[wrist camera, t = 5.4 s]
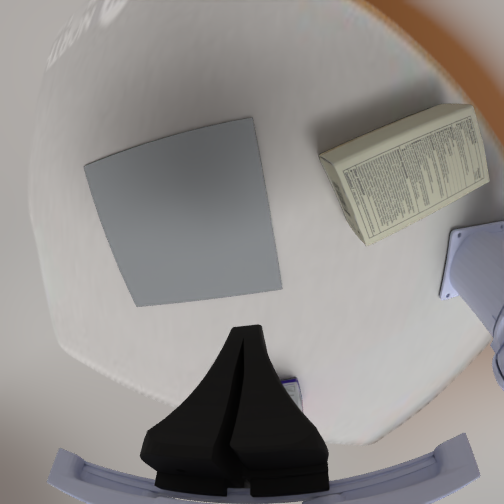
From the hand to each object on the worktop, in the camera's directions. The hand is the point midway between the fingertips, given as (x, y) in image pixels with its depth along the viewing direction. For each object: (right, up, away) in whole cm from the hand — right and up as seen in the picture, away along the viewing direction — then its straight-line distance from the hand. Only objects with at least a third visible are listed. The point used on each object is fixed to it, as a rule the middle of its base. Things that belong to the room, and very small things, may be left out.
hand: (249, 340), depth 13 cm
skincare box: (+6, +8, +5) cm, 11 cm away
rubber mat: (-5, +6, +8) cm, 12 cm away
